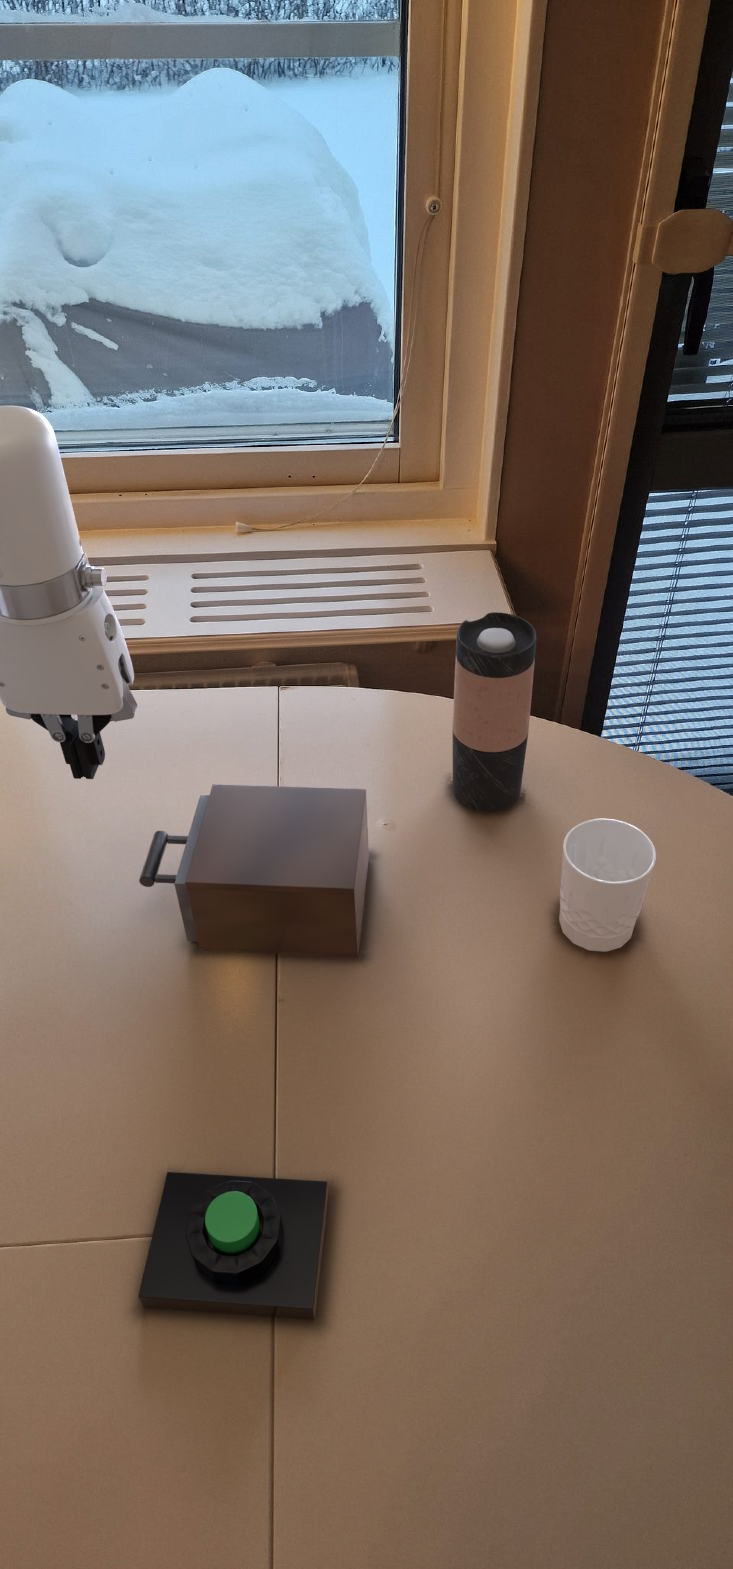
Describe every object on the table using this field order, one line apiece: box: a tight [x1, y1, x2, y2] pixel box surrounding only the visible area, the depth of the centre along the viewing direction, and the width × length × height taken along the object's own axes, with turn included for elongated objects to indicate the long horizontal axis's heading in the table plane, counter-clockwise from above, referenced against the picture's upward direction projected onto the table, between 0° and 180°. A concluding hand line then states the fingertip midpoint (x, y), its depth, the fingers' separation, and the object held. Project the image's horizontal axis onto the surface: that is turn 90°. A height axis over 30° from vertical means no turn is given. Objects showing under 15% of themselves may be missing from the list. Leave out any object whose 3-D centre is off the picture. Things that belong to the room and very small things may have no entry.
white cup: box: [558, 818, 657, 953], centre depth 93 cm, size 8×8×10 cm
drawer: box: [138, 794, 210, 942], centre depth 96 cm, size 18×11×8 cm, turn 85°
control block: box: [138, 1171, 330, 1321], centre depth 73 cm, size 12×9×4 cm
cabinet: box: [185, 783, 370, 959], centre depth 96 cm, size 15×13×10 cm
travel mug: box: [451, 611, 537, 813], centre depth 103 cm, size 8×8×20 cm
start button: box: [205, 1191, 260, 1253], centre depth 72 cm, size 4×4×2 cm
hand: (88, 768), depth 89 cm, fingers closed
